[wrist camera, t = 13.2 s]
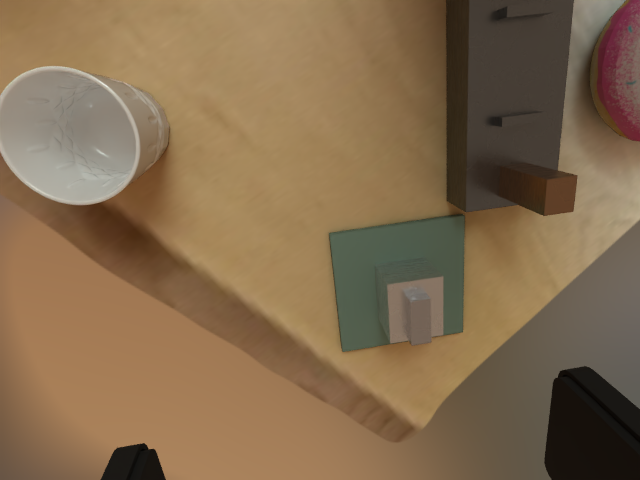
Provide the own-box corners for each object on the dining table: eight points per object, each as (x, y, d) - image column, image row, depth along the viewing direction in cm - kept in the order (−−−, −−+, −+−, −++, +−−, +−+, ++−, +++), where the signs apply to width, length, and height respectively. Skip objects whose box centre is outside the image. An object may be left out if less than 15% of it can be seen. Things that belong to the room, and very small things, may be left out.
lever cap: (425, 310, 41) (448, 342, 36) (378, 317, 40) (394, 351, 35) (424, 257, 39) (449, 282, 33) (374, 264, 38) (391, 291, 33)
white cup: (170, 75, 32) (127, 65, 22) (183, 174, 34) (149, 202, 25) (65, 76, 31) (-26, 66, 21) (86, 177, 33) (14, 208, 24)
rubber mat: (329, 232, 37) (329, 235, 37) (461, 213, 38) (464, 215, 38) (341, 348, 42) (342, 351, 41) (460, 329, 43) (462, 332, 42)
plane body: (527, 189, 38) (609, 219, 29) (446, 201, 38) (504, 234, 28) (546, -89, 31) (666, -171, 21) (446, -80, 30) (524, -160, 21)
